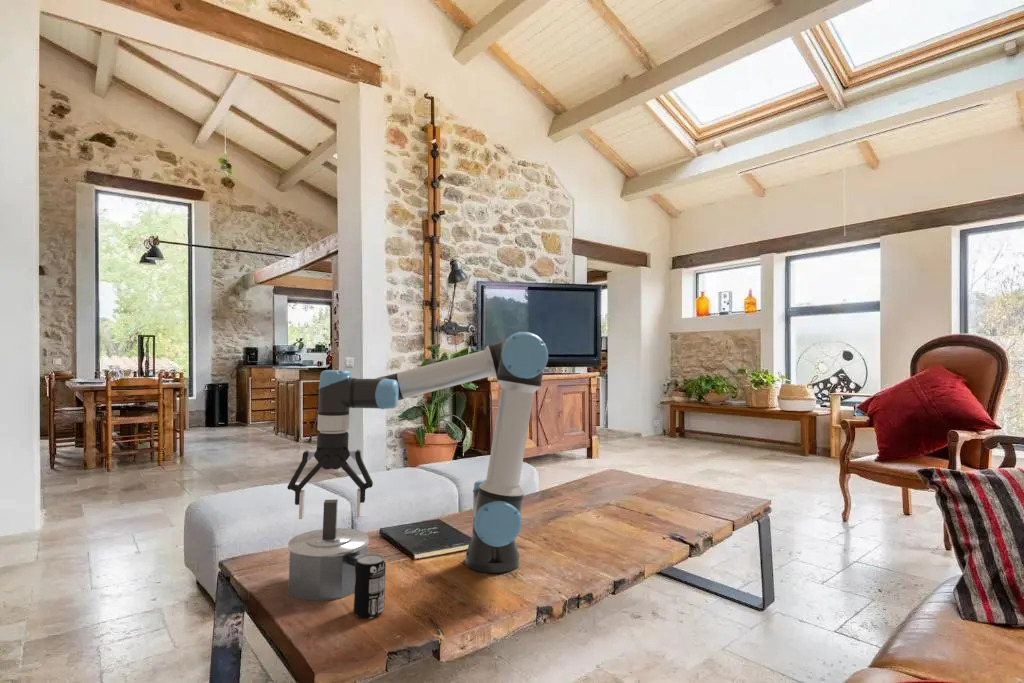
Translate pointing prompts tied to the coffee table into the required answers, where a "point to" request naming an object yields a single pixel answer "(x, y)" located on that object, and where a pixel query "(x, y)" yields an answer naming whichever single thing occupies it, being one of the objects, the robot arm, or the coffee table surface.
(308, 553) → the lid
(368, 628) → the coffee table surface
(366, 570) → the beverage can
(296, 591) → the pot
